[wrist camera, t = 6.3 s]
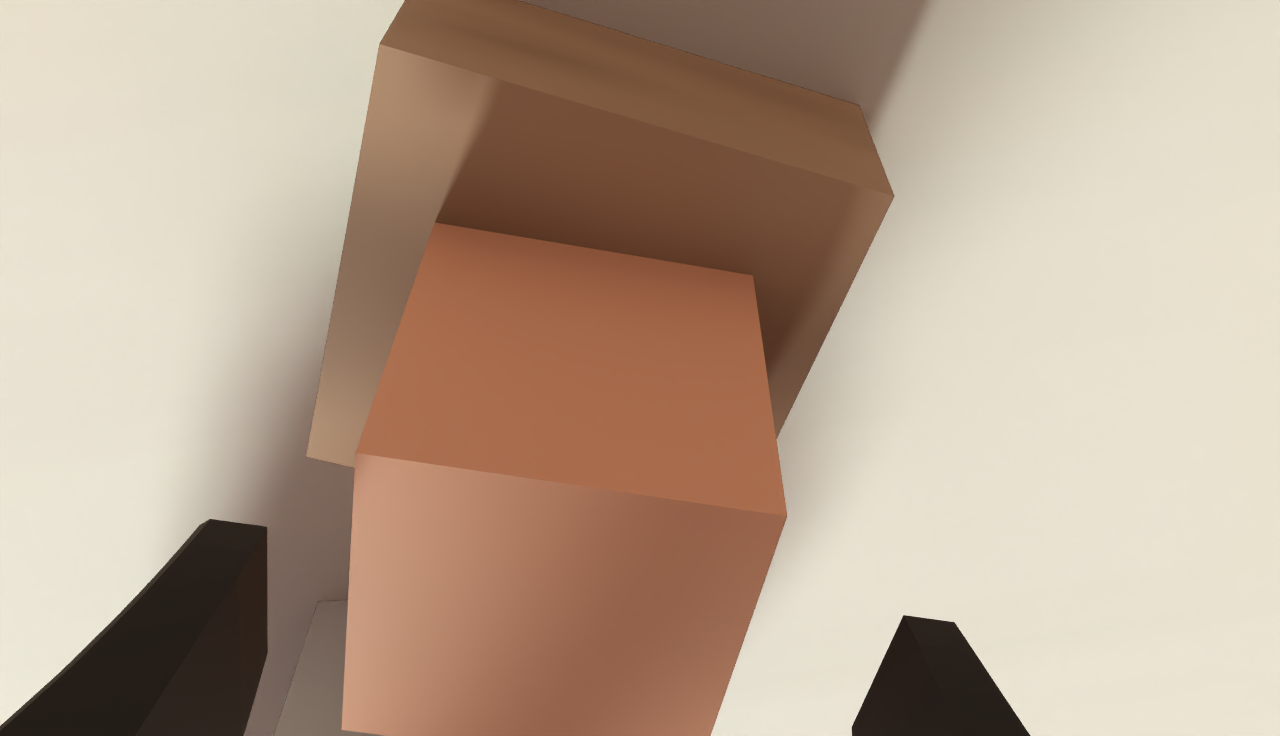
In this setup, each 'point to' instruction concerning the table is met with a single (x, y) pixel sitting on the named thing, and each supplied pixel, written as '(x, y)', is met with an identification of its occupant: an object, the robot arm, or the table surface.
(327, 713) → the grey block
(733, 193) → the walnut slab
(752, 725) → the table surface
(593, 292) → the rust block
